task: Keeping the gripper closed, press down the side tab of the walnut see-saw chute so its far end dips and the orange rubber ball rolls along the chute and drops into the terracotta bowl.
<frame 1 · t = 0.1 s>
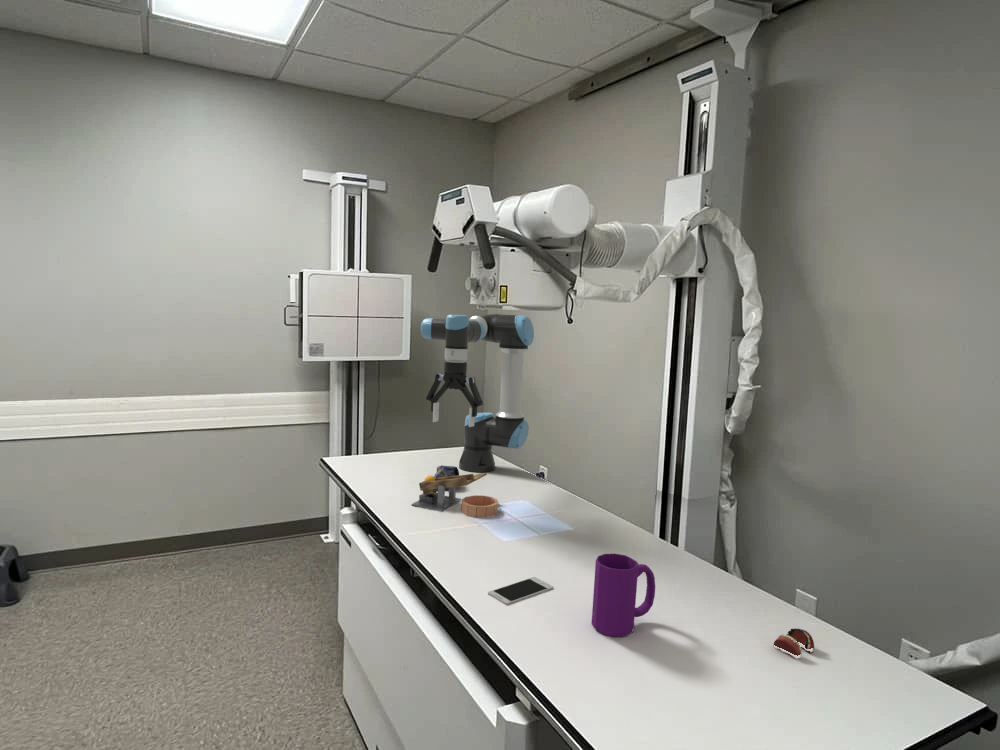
hand: (453, 424, 212), 28 cm above the table, fingers open, 13 cm apart
lever: (453, 481, 218), point 7 cm above the table, hinge at -15.0°, touching ball
dentures: (792, 651, 132), on the table
pivot base: (446, 504, 215), on the table
mug: (623, 625, 139), on the table
smartphone: (521, 593, 153), on the table
terracotta bowl: (479, 511, 210), on the table
rock: (445, 487, 236), on the table
ball: (429, 480, 217), point 7 cm above the table, tilted 30°, touching lever
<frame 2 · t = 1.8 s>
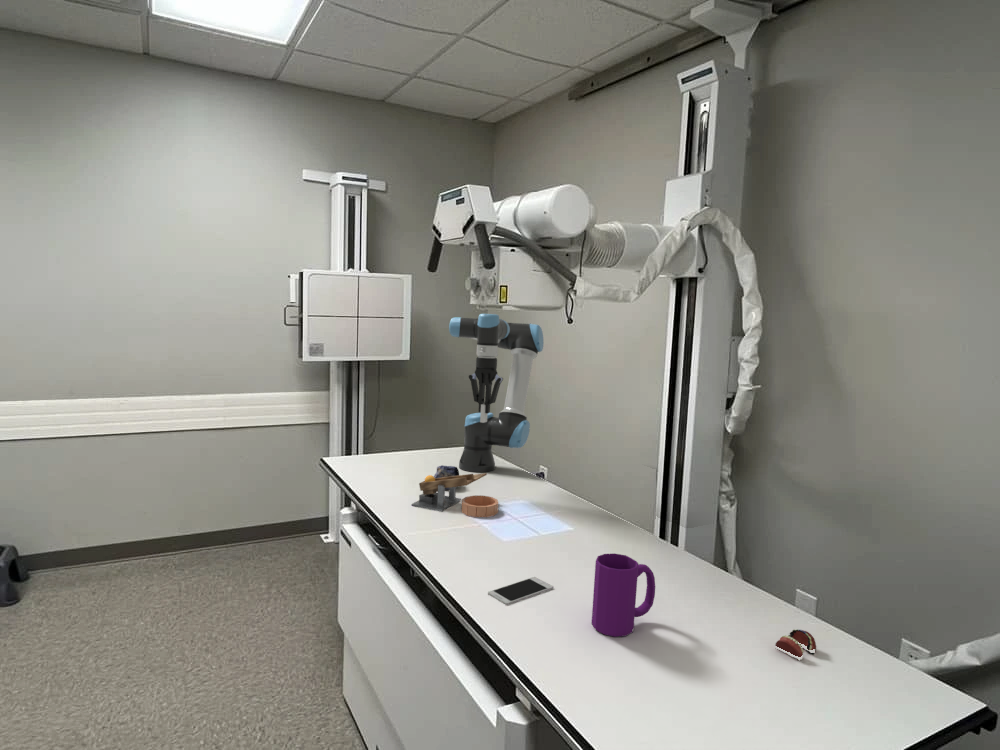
hand: (483, 421, 228), 26 cm above the table, fingers closed
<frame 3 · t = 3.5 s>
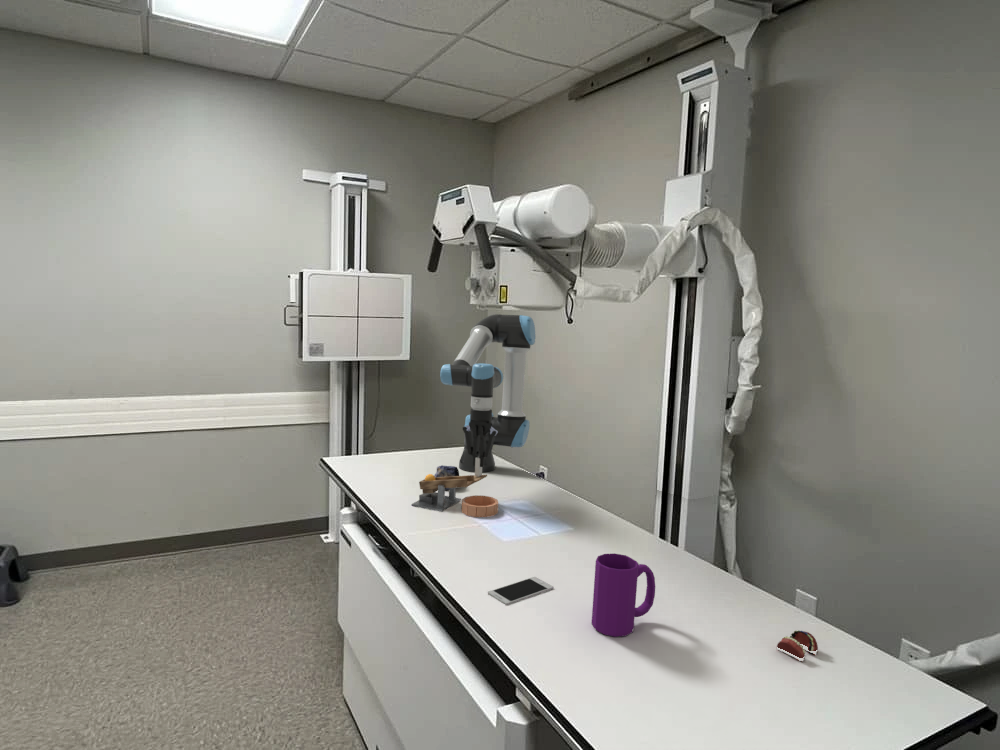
hand: (478, 475, 220), 9 cm above the table, fingers closed
lever: (453, 481, 218), point 7 cm above the table, hinge at -11.6°, touching ball, gripper
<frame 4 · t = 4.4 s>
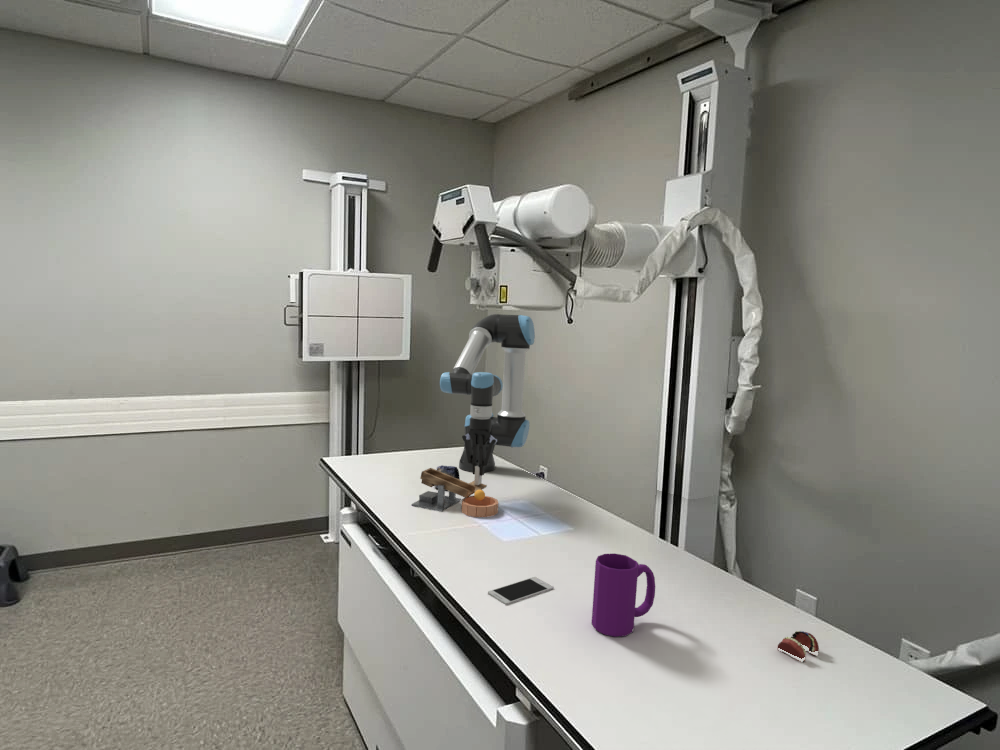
hand: (477, 483, 220), 6 cm above the table, fingers closed
lever: (453, 481, 218), point 7 cm above the table, hinge at 12.2°, touching gripper
ball: (479, 495, 209), point 5 cm above the table, tilted 134°
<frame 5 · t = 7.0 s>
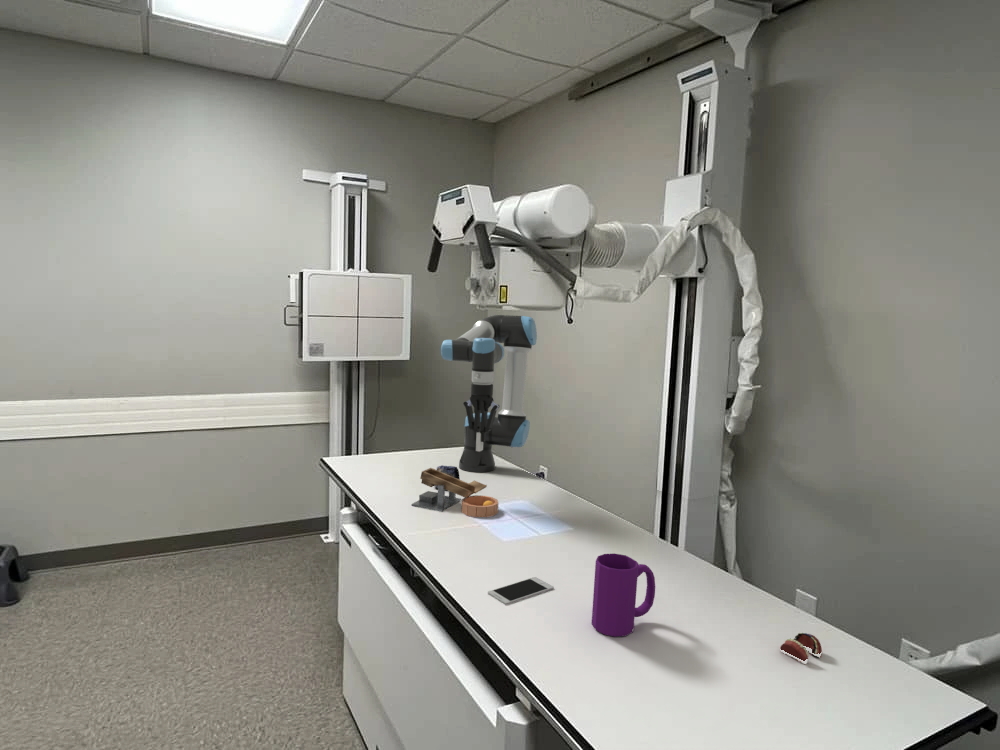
hand: (479, 450, 219), 18 cm above the table, fingers closed
lever: (453, 481, 218), point 7 cm above the table, hinge at 12.3°
ball: (488, 506, 208), point 2 cm above the table, tilted 8°, touching terracotta bowl
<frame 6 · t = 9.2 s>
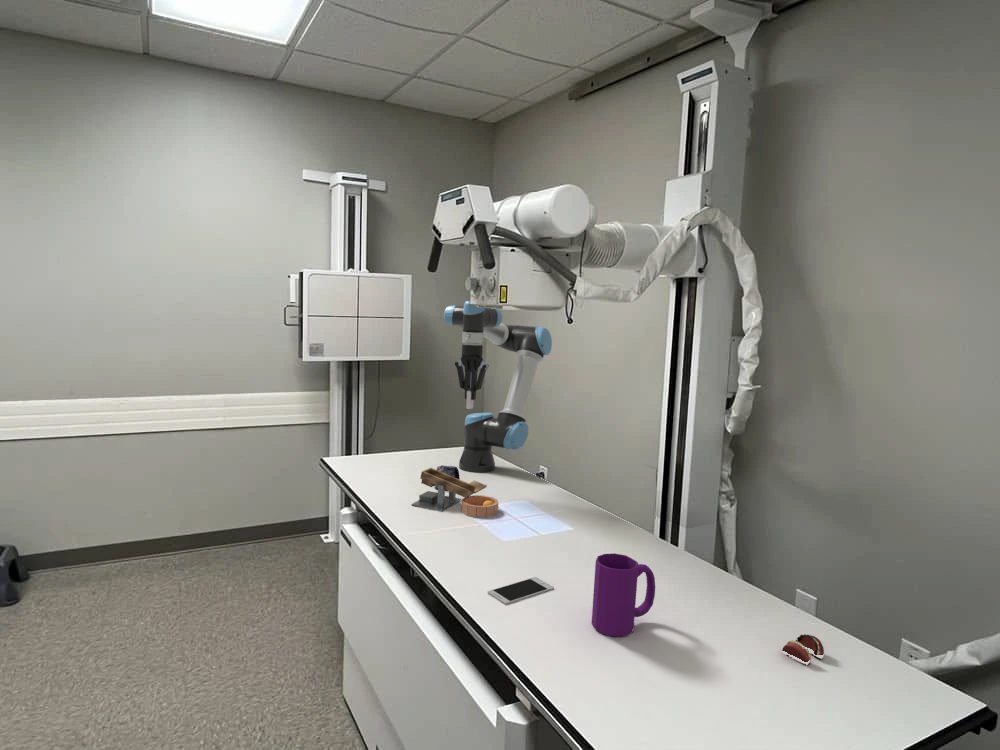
hand: (469, 408, 231), 30 cm above the table, fingers closed
at the end: ball 3.0 cm from the terracotta bowl (horizontally); ball point 2.3 cm above the table; ball touching terracotta bowl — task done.
